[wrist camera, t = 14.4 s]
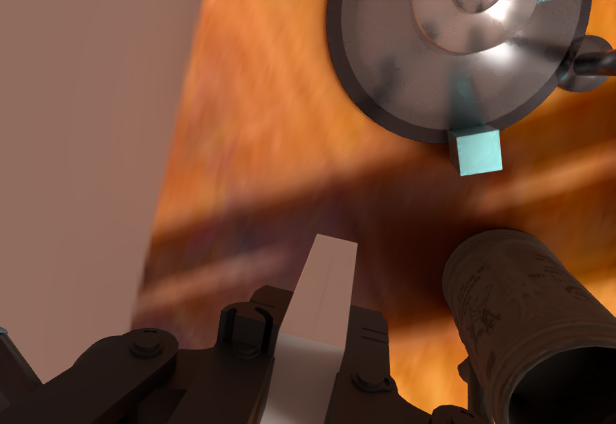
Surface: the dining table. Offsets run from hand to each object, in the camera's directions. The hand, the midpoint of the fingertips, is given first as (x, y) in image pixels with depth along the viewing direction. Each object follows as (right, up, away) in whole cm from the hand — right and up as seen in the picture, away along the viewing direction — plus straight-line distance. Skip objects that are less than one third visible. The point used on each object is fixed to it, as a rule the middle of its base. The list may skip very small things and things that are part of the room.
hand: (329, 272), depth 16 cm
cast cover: (+11, +19, +18) cm, 28 cm away
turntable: (+11, +17, +20) cm, 29 cm away
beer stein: (+18, -6, +28) cm, 33 cm away
